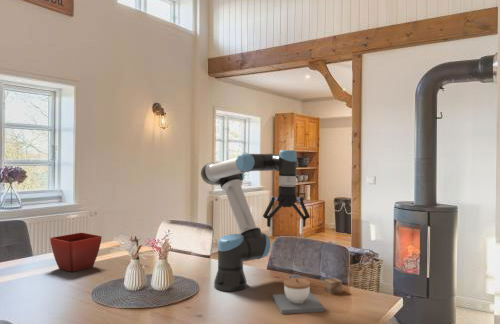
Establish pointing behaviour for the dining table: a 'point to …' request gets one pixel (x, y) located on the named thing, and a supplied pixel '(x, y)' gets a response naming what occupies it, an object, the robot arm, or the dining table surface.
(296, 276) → the dark grey metal cylinder
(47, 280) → the dining table surface
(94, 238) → the plant pot
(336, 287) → the walnut block
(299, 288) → the lidded jar
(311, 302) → the charcoal board
